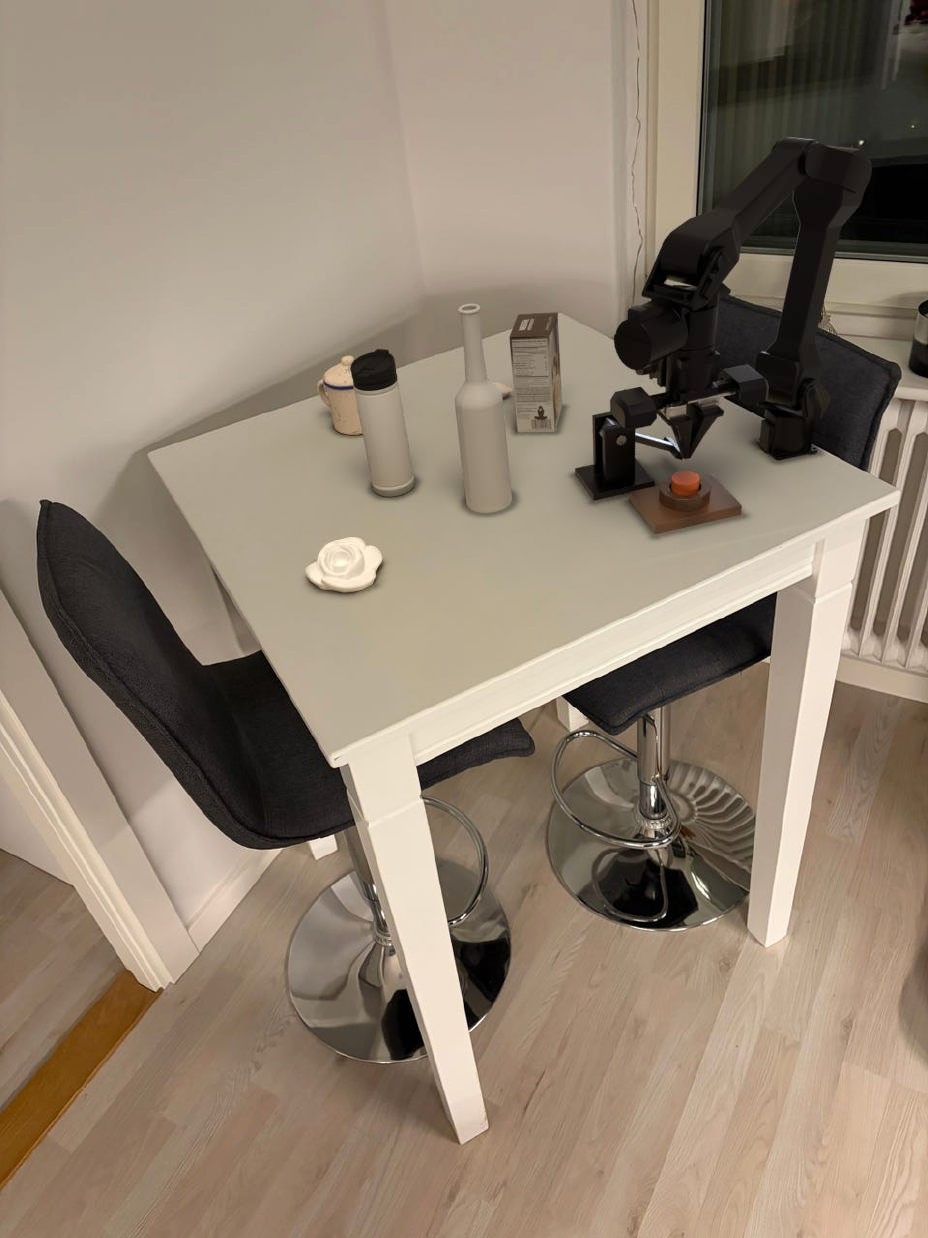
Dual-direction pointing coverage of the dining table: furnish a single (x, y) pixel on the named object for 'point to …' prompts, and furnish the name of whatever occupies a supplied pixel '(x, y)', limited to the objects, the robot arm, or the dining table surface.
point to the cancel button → (685, 483)
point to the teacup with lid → (341, 397)
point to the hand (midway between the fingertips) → (685, 457)
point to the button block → (684, 505)
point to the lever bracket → (613, 462)
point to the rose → (345, 565)
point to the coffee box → (536, 372)
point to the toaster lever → (650, 440)
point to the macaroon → (503, 389)
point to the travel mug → (383, 422)
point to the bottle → (481, 425)
